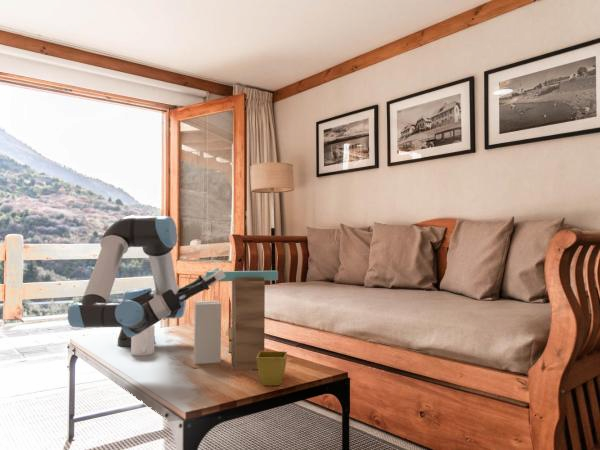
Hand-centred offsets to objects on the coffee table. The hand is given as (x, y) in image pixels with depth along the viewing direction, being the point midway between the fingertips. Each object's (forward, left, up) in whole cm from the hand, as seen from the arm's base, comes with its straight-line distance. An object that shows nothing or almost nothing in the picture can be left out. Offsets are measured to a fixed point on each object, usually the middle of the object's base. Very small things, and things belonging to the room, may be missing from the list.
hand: (221, 271), depth 162 cm
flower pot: (+22, +13, -33) cm, 42 cm away
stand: (0, +9, -33) cm, 34 cm away
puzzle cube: (-22, +12, -34) cm, 42 cm away
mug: (-28, -27, -33) cm, 51 cm away
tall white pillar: (-12, -4, -33) cm, 36 cm away
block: (0, +7, -3) cm, 8 cm away
